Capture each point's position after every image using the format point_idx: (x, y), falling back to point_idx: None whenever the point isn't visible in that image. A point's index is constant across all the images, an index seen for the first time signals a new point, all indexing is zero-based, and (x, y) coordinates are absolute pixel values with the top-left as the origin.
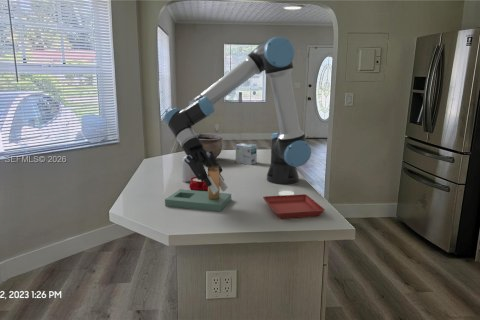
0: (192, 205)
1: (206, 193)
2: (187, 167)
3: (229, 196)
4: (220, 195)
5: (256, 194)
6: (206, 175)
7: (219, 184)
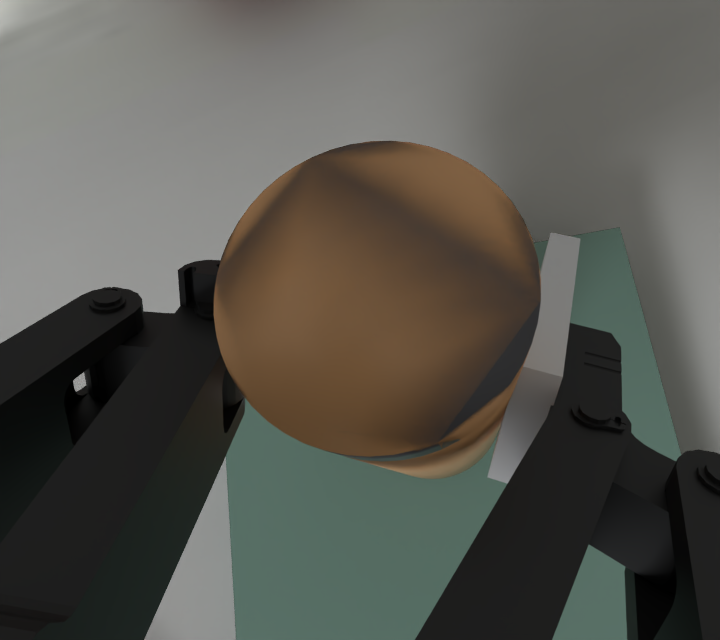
0: None
1: (310, 577)
2: None
3: None
4: None
5: (25, 188)
6: (600, 405)
7: None
